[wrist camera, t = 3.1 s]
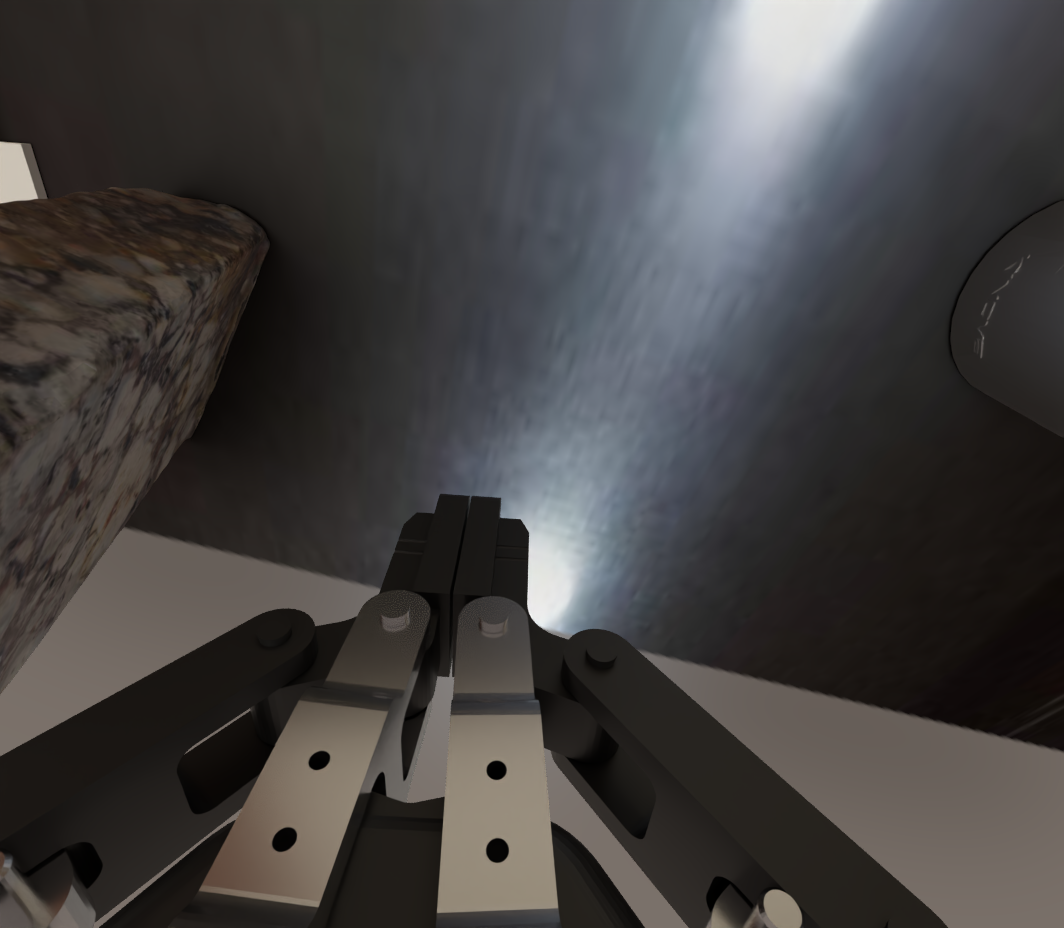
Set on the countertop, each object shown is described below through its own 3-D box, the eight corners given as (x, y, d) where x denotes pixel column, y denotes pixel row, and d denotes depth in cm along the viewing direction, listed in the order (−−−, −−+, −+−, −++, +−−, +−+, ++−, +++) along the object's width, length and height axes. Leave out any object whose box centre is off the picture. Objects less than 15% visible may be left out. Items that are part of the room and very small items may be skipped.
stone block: (219, 459, 31) (-101, 898, 14) (73, 407, 28) (-522, 851, 12) (294, 229, 25) (-103, 499, 8) (117, 139, 23) (-954, 252, 6)
